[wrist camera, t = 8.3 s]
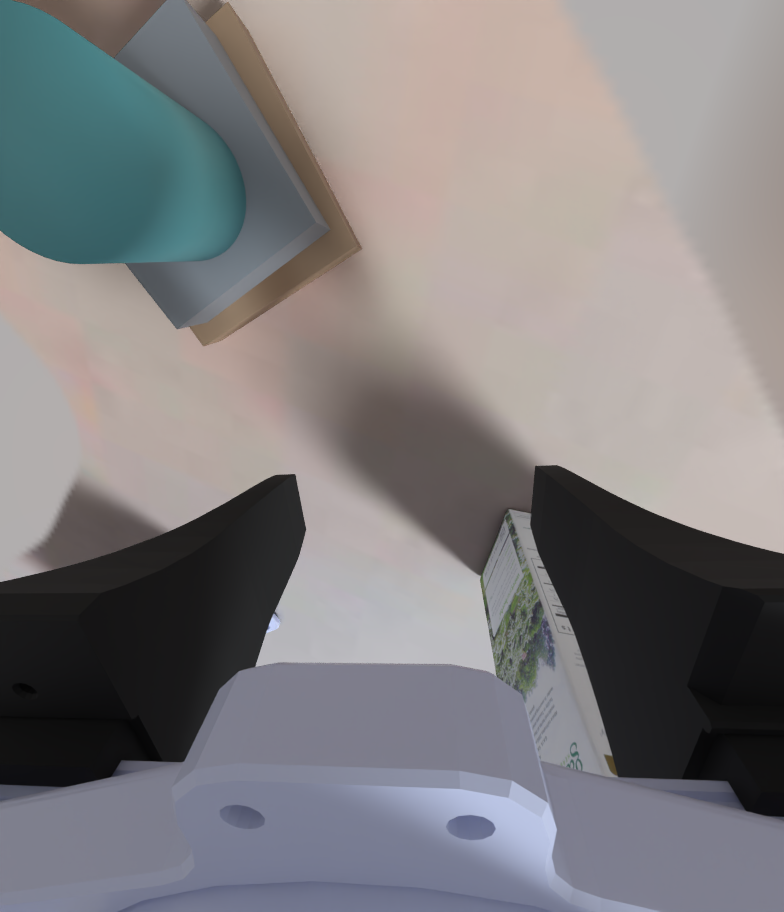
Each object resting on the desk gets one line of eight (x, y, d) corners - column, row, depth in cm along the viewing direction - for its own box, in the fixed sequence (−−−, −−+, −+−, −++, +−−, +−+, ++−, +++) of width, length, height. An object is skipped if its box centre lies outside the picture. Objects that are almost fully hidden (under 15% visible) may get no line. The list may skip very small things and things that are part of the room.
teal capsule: (181, 284, 15) (61, 301, 10) (87, 163, 13) (-121, 101, 8) (271, 215, 14) (193, 189, 9) (182, 73, 12) (14, -69, 7)
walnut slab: (226, 338, 21) (203, 346, 18) (109, 169, 18) (64, 154, 16) (363, 249, 19) (356, 245, 16) (255, 41, 16) (227, 1, 13)
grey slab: (207, 322, 18) (176, 329, 16) (88, 165, 16) (32, 146, 13) (330, 229, 16) (316, 222, 14) (216, 35, 14) (176, -12, 12)
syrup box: (562, 595, 26) (712, 931, 13) (474, 577, 26) (533, 898, 12) (599, 525, 23) (832, 849, 10) (503, 504, 23) (612, 806, 10)
